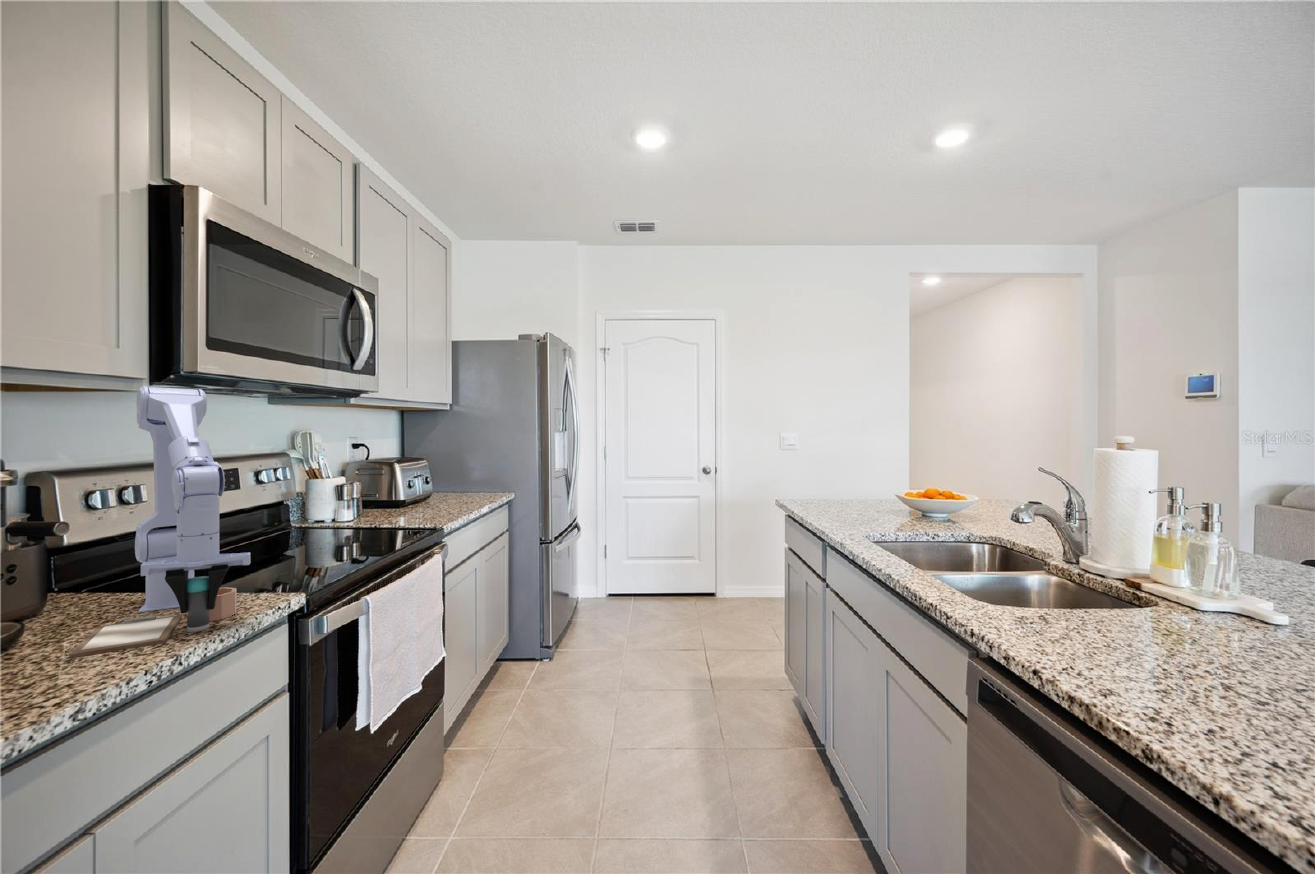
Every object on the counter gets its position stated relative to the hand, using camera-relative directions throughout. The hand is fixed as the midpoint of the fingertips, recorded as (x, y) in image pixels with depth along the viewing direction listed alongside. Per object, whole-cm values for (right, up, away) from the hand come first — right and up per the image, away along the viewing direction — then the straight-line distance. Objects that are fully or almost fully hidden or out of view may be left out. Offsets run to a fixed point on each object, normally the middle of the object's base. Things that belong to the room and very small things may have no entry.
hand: (198, 610), depth 93 cm
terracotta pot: (-3, -3, +7) cm, 8 cm away
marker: (0, -3, 0) cm, 3 cm away
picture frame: (-9, -3, -3) cm, 10 cm away
